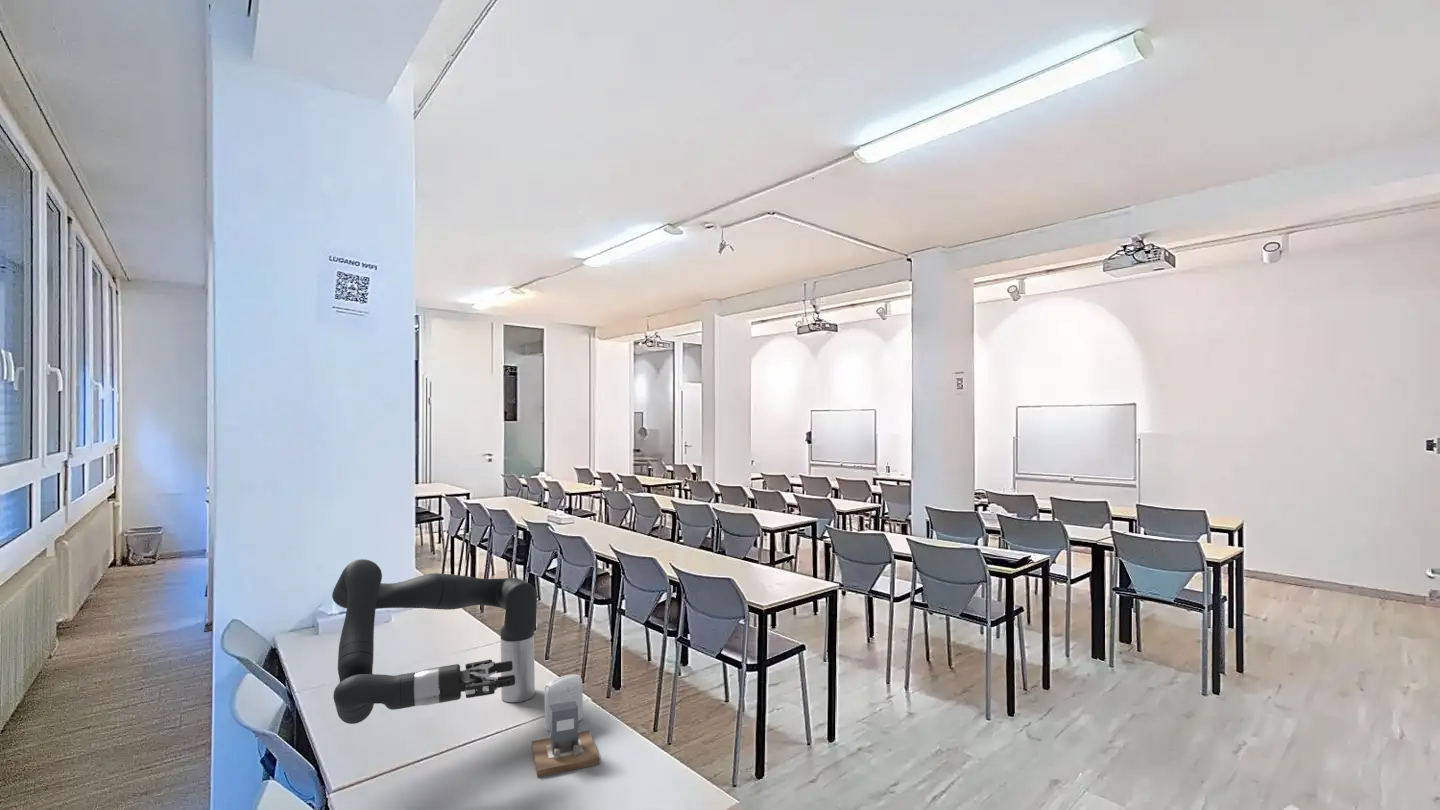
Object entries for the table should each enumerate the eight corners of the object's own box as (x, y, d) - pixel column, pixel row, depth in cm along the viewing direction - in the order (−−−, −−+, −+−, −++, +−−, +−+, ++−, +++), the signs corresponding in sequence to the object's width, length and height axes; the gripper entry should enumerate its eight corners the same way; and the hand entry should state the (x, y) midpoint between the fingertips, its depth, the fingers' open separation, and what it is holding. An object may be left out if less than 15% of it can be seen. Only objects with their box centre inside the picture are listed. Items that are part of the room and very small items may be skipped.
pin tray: (531, 747, 161) (531, 732, 161) (589, 736, 166) (588, 722, 166) (537, 777, 148) (537, 761, 148) (599, 764, 153) (599, 749, 153)
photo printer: (576, 714, 178) (576, 668, 178) (585, 719, 175) (584, 673, 175) (542, 727, 171) (541, 680, 171) (550, 733, 167) (549, 685, 167)
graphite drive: (550, 746, 158) (550, 705, 158) (575, 741, 160) (575, 700, 160) (552, 755, 154) (552, 712, 154) (578, 749, 156) (578, 707, 156)
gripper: (439, 688, 153) (512, 676, 159) (436, 716, 140) (516, 701, 146) (438, 656, 153) (511, 645, 159) (435, 681, 140) (515, 667, 146)
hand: (513, 672), depth 152 cm, fingers open, 8 cm apart
